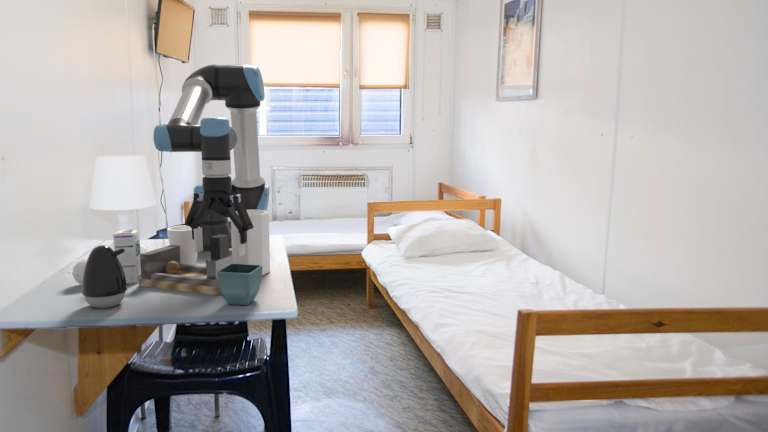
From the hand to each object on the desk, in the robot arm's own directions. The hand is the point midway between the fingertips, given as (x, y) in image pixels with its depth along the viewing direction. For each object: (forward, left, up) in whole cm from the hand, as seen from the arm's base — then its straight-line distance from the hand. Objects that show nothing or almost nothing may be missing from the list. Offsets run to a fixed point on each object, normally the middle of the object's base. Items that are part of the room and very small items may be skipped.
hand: (219, 253), depth 167 cm
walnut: (0, -16, -6) cm, 17 cm away
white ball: (+12, -37, -10) cm, 40 cm away
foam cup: (-13, -22, -10) cm, 27 cm away
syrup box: (+4, -28, -10) cm, 30 cm away
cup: (-17, -1, -10) cm, 20 cm away
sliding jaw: (0, 0, -7) cm, 7 cm away
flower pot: (+10, +13, -10) cm, 19 cm away
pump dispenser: (+24, -17, -10) cm, 31 cm away
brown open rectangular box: (0, -9, -10) cm, 13 cm away
